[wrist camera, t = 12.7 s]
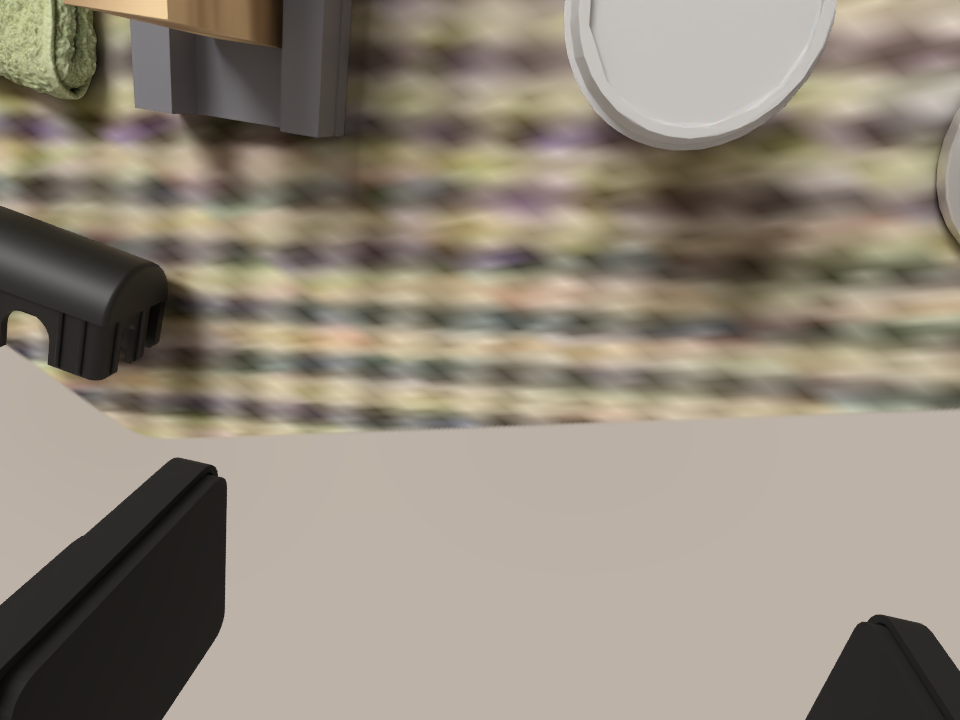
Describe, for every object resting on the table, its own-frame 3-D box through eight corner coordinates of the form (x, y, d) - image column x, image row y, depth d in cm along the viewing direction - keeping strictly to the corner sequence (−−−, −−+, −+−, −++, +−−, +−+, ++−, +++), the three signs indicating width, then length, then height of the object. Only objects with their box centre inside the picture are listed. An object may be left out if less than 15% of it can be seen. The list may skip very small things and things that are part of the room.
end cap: (181, 251, 39) (111, 277, 33) (165, 349, 42) (98, 390, 36) (30, 195, 39) (-69, 210, 33) (24, 297, 42) (-69, 329, 36)
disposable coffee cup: (786, 47, 32) (913, 9, 21) (635, 178, 35) (675, 206, 24) (671, -113, 30) (742, -250, 19) (522, 40, 33) (508, 0, 22)
